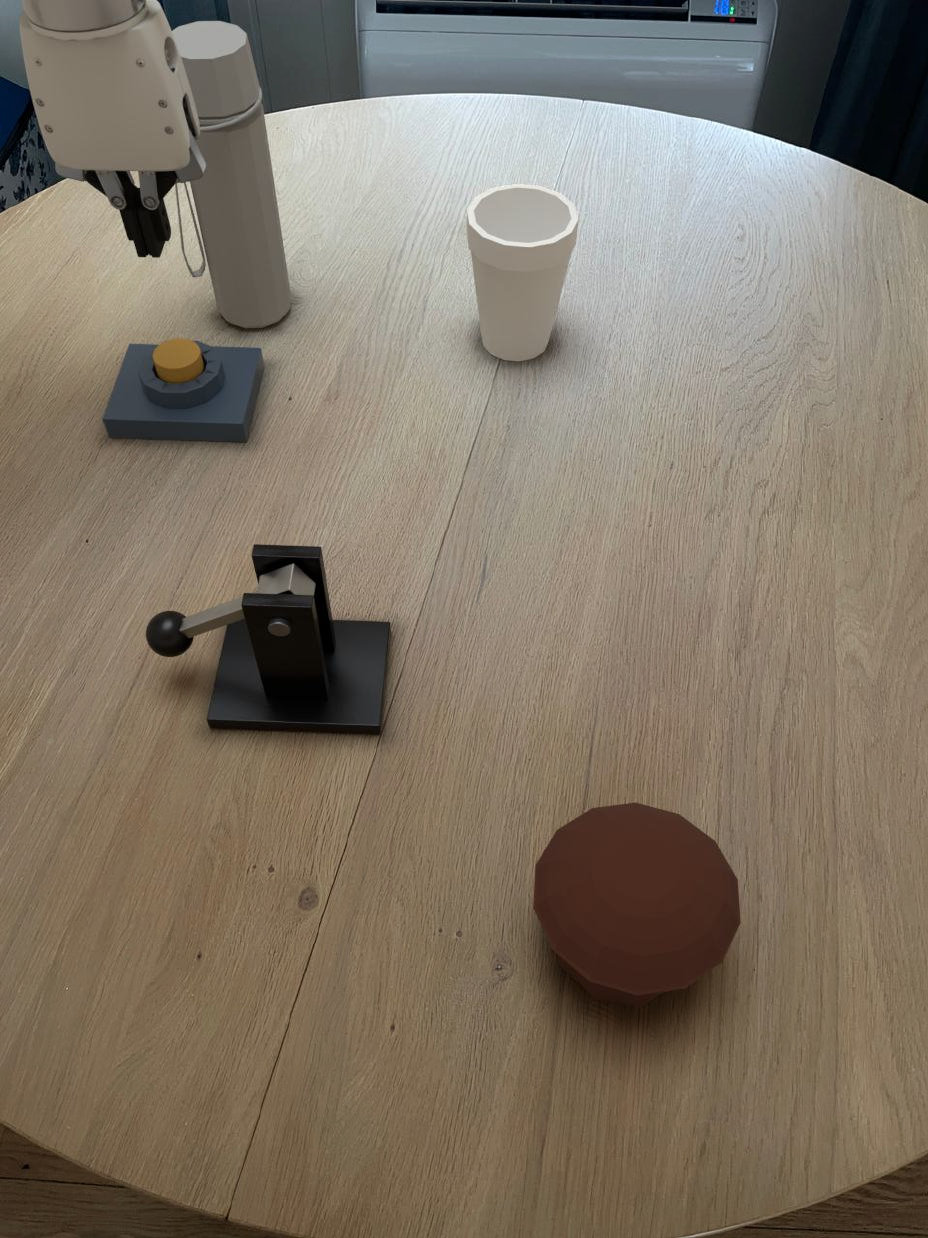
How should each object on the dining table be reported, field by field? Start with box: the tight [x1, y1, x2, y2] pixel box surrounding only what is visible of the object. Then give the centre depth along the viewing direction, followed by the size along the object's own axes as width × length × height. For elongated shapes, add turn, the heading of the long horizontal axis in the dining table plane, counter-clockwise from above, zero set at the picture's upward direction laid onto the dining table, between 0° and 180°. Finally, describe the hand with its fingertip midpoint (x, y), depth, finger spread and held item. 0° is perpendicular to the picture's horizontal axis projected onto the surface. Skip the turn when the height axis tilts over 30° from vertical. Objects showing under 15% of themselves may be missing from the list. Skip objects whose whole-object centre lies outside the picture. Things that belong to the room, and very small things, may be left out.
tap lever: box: [145, 563, 316, 658], centre depth 69 cm, size 13×3×3 cm, turn 87°
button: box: [153, 337, 204, 384], centre depth 89 cm, size 4×4×2 cm
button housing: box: [102, 340, 265, 443], centre depth 91 cm, size 12×10×4 cm
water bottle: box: [171, 20, 292, 329], centre depth 90 cm, size 9×8×25 cm
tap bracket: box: [206, 543, 392, 736], centre depth 70 cm, size 12×9×12 cm
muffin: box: [532, 802, 742, 1009], centre depth 60 cm, size 12×11×10 cm
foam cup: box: [466, 183, 579, 362], centre depth 93 cm, size 10×9×13 cm
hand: (153, 246), depth 80 cm, fingers closed
